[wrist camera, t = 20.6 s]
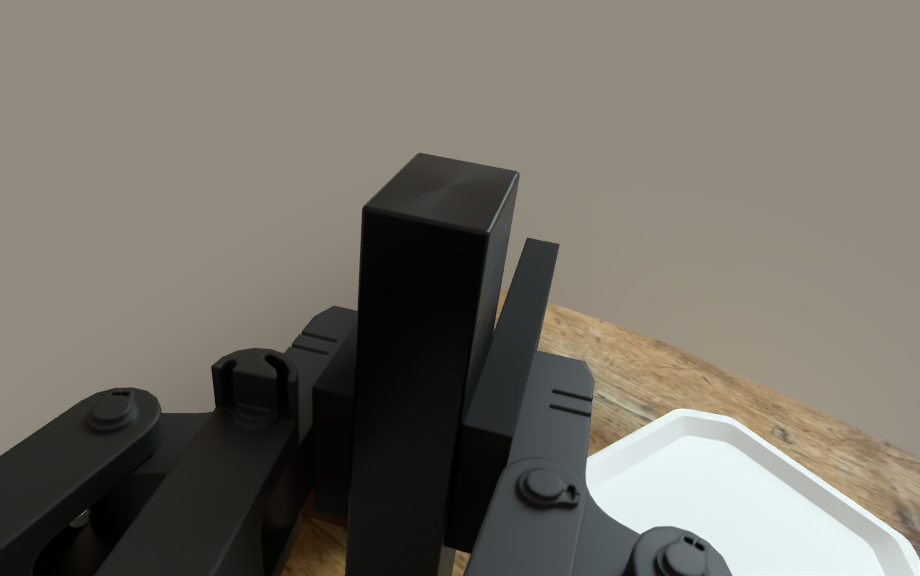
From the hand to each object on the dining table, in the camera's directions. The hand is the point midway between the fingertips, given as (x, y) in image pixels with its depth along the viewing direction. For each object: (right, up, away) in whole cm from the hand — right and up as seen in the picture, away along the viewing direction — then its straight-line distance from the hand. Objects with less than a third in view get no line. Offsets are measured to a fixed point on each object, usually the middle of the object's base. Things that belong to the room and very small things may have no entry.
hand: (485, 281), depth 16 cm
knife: (-3, -16, +3) cm, 16 cm away
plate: (+18, -19, +30) cm, 39 cm away
